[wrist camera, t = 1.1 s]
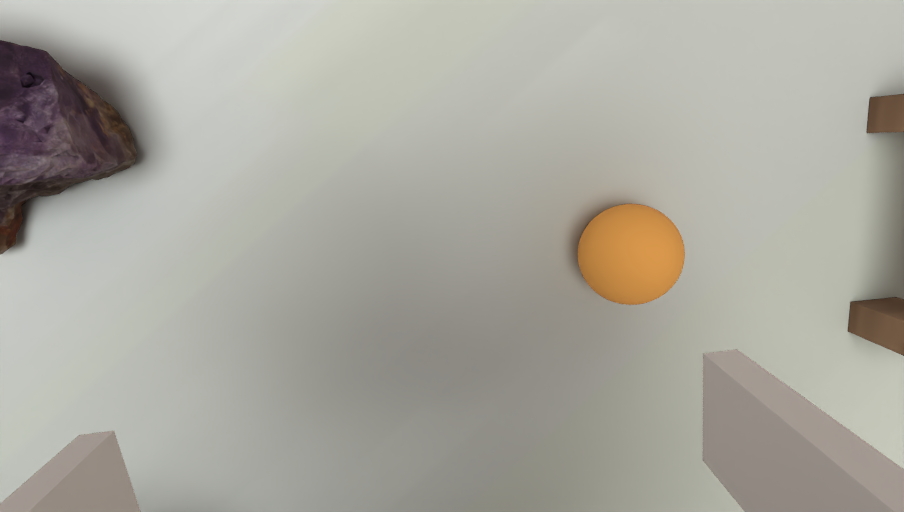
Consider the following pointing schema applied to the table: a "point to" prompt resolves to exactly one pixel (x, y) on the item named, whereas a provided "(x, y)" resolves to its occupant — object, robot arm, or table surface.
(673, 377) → the table surface
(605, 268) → the ball
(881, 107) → the bridge
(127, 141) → the rock
